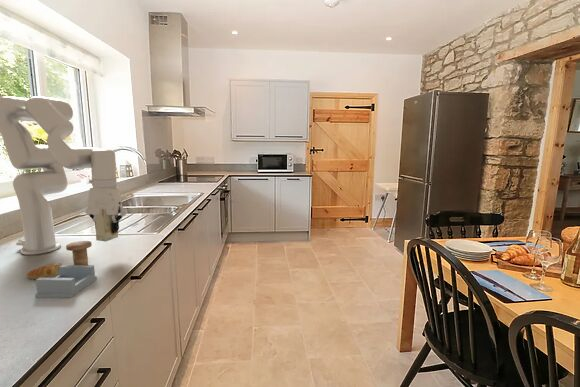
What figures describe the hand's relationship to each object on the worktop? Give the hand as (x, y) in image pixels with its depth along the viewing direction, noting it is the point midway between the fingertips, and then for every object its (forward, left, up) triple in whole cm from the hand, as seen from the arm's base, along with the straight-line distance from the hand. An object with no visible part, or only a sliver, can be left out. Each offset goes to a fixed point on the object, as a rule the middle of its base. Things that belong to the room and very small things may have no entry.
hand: (107, 231), depth 112 cm
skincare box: (0, 0, -3) cm, 3 cm away
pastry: (-12, -14, -12) cm, 22 cm away
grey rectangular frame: (0, -22, -11) cm, 25 cm away
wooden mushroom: (-3, -11, -11) cm, 16 cm away
